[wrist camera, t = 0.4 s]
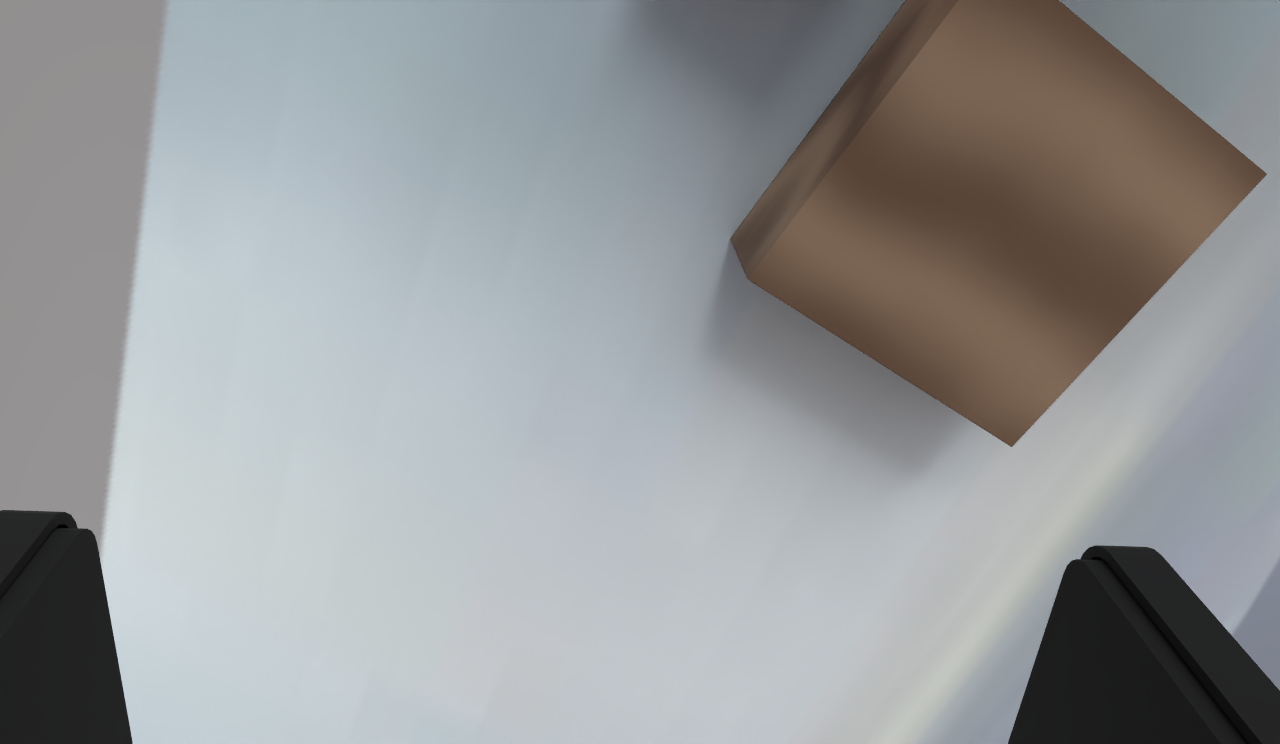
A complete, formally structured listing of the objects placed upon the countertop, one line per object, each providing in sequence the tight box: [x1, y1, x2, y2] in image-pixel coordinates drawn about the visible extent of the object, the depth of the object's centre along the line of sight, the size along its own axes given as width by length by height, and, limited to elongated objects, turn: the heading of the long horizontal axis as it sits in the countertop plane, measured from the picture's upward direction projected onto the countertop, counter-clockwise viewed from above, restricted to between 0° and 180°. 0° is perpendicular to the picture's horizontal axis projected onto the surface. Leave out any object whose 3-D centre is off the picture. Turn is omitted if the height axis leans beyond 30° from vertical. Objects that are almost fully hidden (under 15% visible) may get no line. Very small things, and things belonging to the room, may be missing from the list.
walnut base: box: [731, 0, 1267, 447], centre depth 35 cm, size 12×12×4 cm
